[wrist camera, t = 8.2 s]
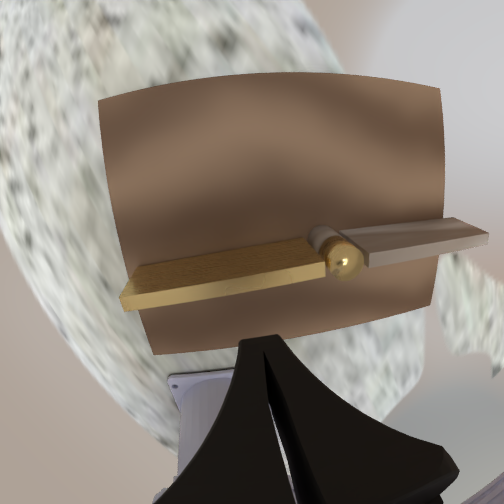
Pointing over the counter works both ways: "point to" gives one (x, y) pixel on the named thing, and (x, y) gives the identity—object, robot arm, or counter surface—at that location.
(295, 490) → the robot arm
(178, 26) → the counter surface
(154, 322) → the hinge base
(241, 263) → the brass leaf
